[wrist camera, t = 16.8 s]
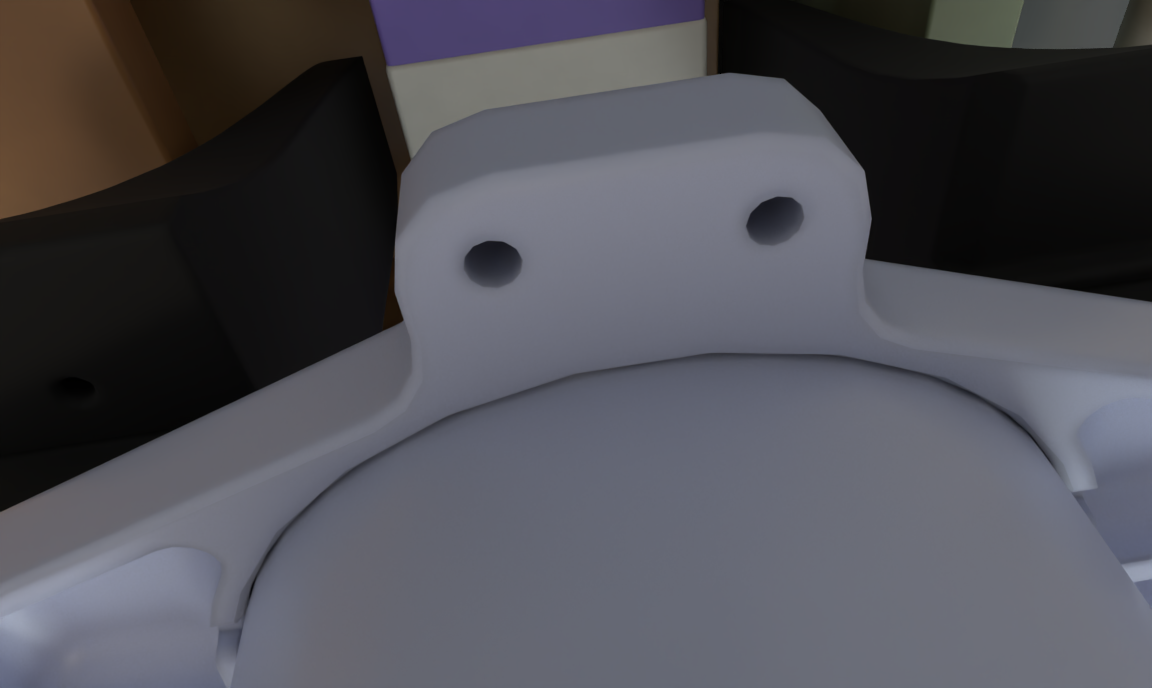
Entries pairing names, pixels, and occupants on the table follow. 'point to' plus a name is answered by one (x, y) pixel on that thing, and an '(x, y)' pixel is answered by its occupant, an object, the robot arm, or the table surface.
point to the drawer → (347, 29)
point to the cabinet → (79, 102)
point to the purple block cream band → (528, 52)
